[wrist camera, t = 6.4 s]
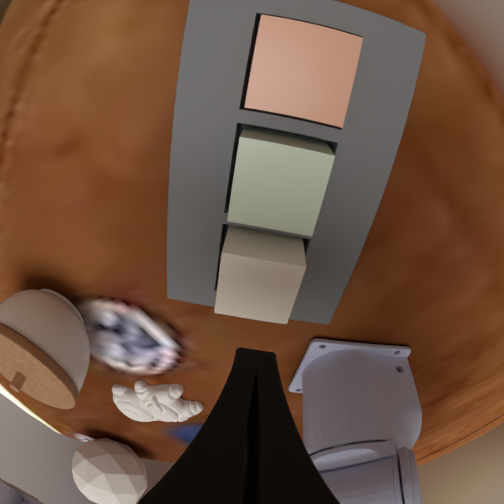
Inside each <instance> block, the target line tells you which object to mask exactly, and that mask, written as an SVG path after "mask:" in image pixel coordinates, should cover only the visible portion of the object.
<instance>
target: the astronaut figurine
mask: <svg viewBox="0 0 504 504" xmlns="http://www.w3.org/2000/svg"><path fill="white" fill-rule="evenodd" d="M134 388H135V389H131V388H126V387H125V386H122V385H114V386H113V387H112V392H113V400H114V403H115V404H116V405H117V407H118V408H119V410H120V411H121V412H122V413H123V414H125V415H126V416H128V417H129V418H131V419H133V420H136V421H141V422H150V421H157V420H161V421H165V422H171V421H173V422H177V421H179V422H182V421H184V420H185V421H186V420H187V419H188V417H192V416H194V415H197V414H199V413H200V412H201V411H202V410H203V405H202V403H201V402H198V401H190V400H183V399H182V398H181V397H180V396H181V394H182V393H183V391H184V387H183V386H182V385H180V384H162V385H156V386H149V385H148V384H146V383H145V382H144V381H142V380H137V381H136V383H135V386H134Z"/></svg>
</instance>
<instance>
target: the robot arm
mask: <svg viewBox="0 0 504 504" xmlns="http://www.w3.org/2000/svg"><path fill="white" fill-rule="evenodd" d="M410 353H411V349H410V347H404V346H389V345H376V344H365V343H354V342H344V341H334V340H325V339H313V340H312V341H311V342H310V344H309V346H308V348H307V350H306V352H305V355H304V357H303V359H302V361H301V363H300V365H299V367H298V369H297V371H296V373H295V375H294V377H293V379H292V381H291V383H290V385H289V391H290V392H297V393H302V402H303V442H302V439H301V437H300V435H299V433H298V430H297V428H296V425H295V423H294V420H293V418H292V415H291V412H290V409H289V406H288V403H287V400H286V397H285V394H284V391H283V387H282V383H281V379H280V375H279V371H278V366H277V360H276V355H275V354H274V353H273V352H266V351H259V350H253V349H247V348H238V349H237V350H236V354H235V359H234V363H233V366H232V369H231V372H230V374H229V377H228V379H227V382H226V384H225V386H224V388H223V390H222V392H221V395H220V397H219V399H218V400H217V402H216V404H215V406H214V408H213V409H212V411H211V413H210V415H209V416H208V418H207V420H206V421H205V423H204V425H203V426H202V428H201V429H200V431H199V432H198V434H197V435H196V437H195V438H194V439H193V441H192V442H191V444H190V445H189V446H188V448H187V449H186V450H185V452H184V453H183V454H182V455H181V457H180V458H179V459H178V460H177V462H176V463H175V464H174V465H173V466H172V468H171V469H170V470H169V471H168V472H167V473H166V474H165V475H164V477H163V478H162V479H161V480H160V481H159V482H158V483H157V484H156V485H155V486H154V487H153V488H152V489H151V490H150V491H149V492H148V493H147V494H146V495H145V496H144V497H143V498H142V499H141V500H140V501H139V503H138V504H422V499H421V491H420V483H419V477H418V470H417V464H416V458H415V453H414V451H412V450H410V449H411V447H412V446H413V445H414V444H415V442H416V441H417V439H418V437H419V434H420V430H421V424H422V411H421V406H420V402H419V398H418V394H417V390H416V387H415V383H414V379H413V376H412V372H411V369H410V366H409V362H408V359H407V357H408V355H409V354H410ZM0 504H44V503H42V502H40V501H39V500H38V499H37V498H35V497H33V496H31V495H29V494H28V493H26V492H24V491H23V490H21V489H19V488H18V487H16V486H14V485H12V484H10V483H8V482H6V481H4V480H2V479H1V478H0Z"/></svg>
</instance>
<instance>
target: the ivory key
mask: <svg viewBox="0 0 504 504" xmlns="http://www.w3.org/2000/svg"><path fill="white" fill-rule="evenodd" d="M305 270H306V260H305V252H304V244H303V238H301V237H295V236H290V235H285V234H279V233H273V232H268V231H262V230H257V229H251V228H245V227H240V226H234V225H229V227H228V231H227V235H226V238H225V242H224V246H223V250H222V254H221V262H220V270H219V278H218V286H217V294H216V303H215V311H214V313H219V314H225V315H230V316H236V317H242V318H248V319H254V320H261V321H267V322H274V323H280V324H287V322H288V319H289V317H290V314H291V311H292V308H293V305H294V302H295V299H296V297H297V294H298V291H299V288H300V285H301V282H302V279H303V276H304V273H305Z"/></svg>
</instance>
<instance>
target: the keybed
mask: <svg viewBox="0 0 504 504" xmlns="http://www.w3.org/2000/svg"><path fill="white" fill-rule="evenodd" d="M261 15H268V16H274V17H280V18H286V19H291V20H296V21H301V22H306V23H310V24H315V25H319V26H323V27H327V28H331V29H335V30H338V31H342V32H345V33H349V34H352V35H355V36H359V37H362V38H363V41H362V46H361V51H360V55H359V60H358V65H357V69H356V74H355V78H354V82H353V87H352V91H351V95H350V100H349V104H348V108H347V112H346V116H345V120H344V124H343V128H341V127H338V126H334V125H330V124H326V123H321V122H317V121H313V120H309V119H304V118H299V117H295V116H290V115H285V114H280V113H274V112H269V111H263V110H258V109H252V108H245V101H246V95H247V90H248V84H249V78H250V72H251V67H252V61H253V56H254V50H255V45H256V39H257V34H258V29H259V23H260V18H261ZM425 39H426V34H425V33H423V32H421V31H418V30H416V29H414V28H412V27H409V26H407V25H404V24H402V23H400V22H397V21H395V20H392V19H389V18H387V17H384V16H381V15H379V14H376V13H373V12H370V11H367V10H364V9H361V8H358V7H355V6H351V5H348V4H345V3H341V2H337V1H334V0H190V4H189V9H188V15H187V20H186V26H185V32H184V38H183V45H182V51H181V58H180V66H179V73H178V81H177V90H176V98H175V108H174V118H173V129H172V141H171V155H170V171H169V190H168V219H167V298H171V299H175V300H180V301H186V302H191V303H196V304H201V305H207V306H212V307H215V303H216V294H217V286H218V278H219V270H220V262H221V254H222V250H223V246H224V242H225V238H226V235H227V231H228V227H229V225H234V226H240V227H245V228H251V229H257V230H262V231H268V232H273V233H279V234H285V235H290V236H295V237H301V238H303V244H304V252H305V260H306V270H305V273H304V276H303V279H302V282H301V285H300V288H299V291H298V294H297V297H296V299H295V302H294V305H293V308H292V311H291V314H290V317H289V319H291V320H298V321H306V322H313V323H320V324H328V325H329V323H330V321H331V318H332V316H333V314H334V312H335V310H336V308H337V306H338V303H339V301H340V299H341V297H342V295H343V292H344V290H345V288H346V286H347V283H348V281H349V279H350V277H351V274H352V272H353V270H354V267H355V265H356V262H357V260H358V258H359V255H360V253H361V250H362V248H363V245H364V243H365V240H366V238H367V235H368V233H369V230H370V228H371V225H372V222H373V220H374V217H375V214H376V212H377V209H378V206H379V204H380V201H381V198H382V195H383V192H384V189H385V187H386V184H387V181H388V178H389V175H390V172H391V169H392V166H393V163H394V160H395V156H396V153H397V150H398V147H399V144H400V140H401V137H402V134H403V130H404V127H405V123H406V120H407V116H408V112H409V109H410V105H411V101H412V97H413V93H414V89H415V85H416V81H417V77H418V72H419V68H420V63H421V59H422V54H423V49H424V44H425ZM245 125H249V126H255V127H261V128H266V129H272V130H277V131H282V132H287V133H292V134H297V135H302V136H306V137H311V138H315V139H319V140H324V141H326V143H327V144H328V146H329V147H330V149H331V150H332V152H333V153H334V155H335V158H334V162H333V166H332V169H331V173H330V177H329V180H328V184H327V187H326V191H325V194H324V198H323V201H322V205H321V208H320V212H319V215H318V218H317V222H316V225H315V228H314V232H313V235H312V236H306V235H301V234H296V233H290V232H285V231H279V230H274V229H268V228H263V227H257V226H252V225H246V224H240V223H234V222H229V221H227V218H228V211H229V204H230V197H231V190H232V184H233V177H234V170H235V164H236V157H237V151H238V144H239V138H240V135H241V133H242V131H243V129H244V127H245Z"/></svg>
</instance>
